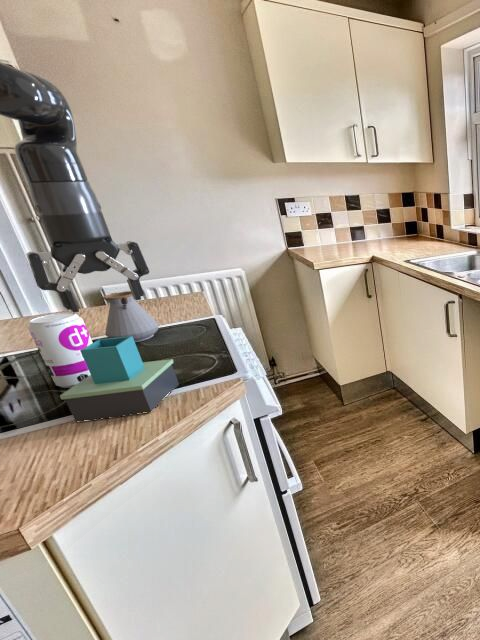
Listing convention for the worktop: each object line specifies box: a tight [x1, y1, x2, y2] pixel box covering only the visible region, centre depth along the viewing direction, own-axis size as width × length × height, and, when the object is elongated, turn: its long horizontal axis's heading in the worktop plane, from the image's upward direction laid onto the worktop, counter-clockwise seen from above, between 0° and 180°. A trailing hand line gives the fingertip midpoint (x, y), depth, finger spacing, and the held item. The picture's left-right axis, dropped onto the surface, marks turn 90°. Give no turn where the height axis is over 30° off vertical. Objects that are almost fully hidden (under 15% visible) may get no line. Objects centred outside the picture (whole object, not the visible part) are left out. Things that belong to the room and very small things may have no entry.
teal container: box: [80, 336, 145, 384], centre depth 81 cm, size 6×6×7 cm
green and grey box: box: [59, 358, 180, 423], centre depth 84 cm, size 13×13×6 cm
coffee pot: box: [101, 291, 160, 343], centre depth 113 cm, size 21×12×15 cm, turn 46°
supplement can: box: [28, 311, 94, 389], centre depth 92 cm, size 8×8×15 cm
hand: (107, 305), depth 75 cm, fingers open, 8 cm apart
